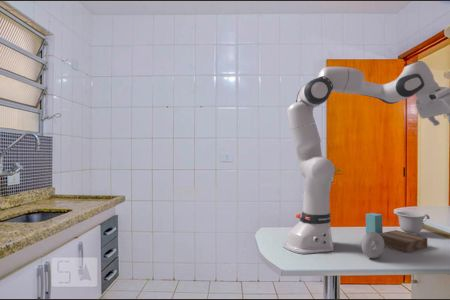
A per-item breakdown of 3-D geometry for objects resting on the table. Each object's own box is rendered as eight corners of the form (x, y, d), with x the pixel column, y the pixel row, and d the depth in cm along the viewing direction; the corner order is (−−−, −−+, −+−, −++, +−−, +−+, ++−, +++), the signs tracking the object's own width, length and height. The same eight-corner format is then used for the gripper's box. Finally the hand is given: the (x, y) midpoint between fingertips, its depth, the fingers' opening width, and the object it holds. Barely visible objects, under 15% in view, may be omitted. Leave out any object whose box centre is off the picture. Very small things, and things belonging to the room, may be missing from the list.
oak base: (406, 252, 119) (406, 242, 119) (375, 243, 131) (375, 234, 131) (427, 247, 125) (427, 238, 125) (395, 238, 137) (395, 230, 137)
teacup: (437, 237, 138) (437, 216, 139) (405, 237, 139) (405, 216, 139) (421, 230, 151) (421, 211, 151) (391, 230, 151) (391, 211, 151)
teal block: (375, 239, 136) (375, 215, 136) (366, 236, 141) (365, 213, 141) (382, 238, 139) (382, 214, 139) (373, 235, 143) (372, 212, 143)
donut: (379, 255, 116) (379, 229, 116) (386, 258, 113) (386, 231, 113) (359, 258, 113) (359, 232, 113) (366, 261, 110) (366, 234, 110)
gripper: (408, 103, 139) (422, 129, 138) (439, 93, 118) (455, 124, 118) (420, 97, 139) (434, 123, 138) (453, 86, 118) (469, 117, 118)
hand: (444, 123), depth 128 cm, fingers open, 8 cm apart
